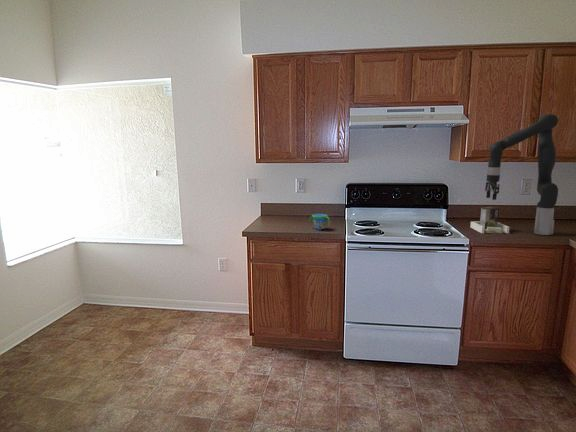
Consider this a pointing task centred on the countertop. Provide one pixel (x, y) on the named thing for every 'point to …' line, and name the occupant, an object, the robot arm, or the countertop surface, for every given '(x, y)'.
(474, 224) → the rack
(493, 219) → the coffee box
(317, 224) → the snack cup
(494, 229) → the offcut top
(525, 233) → the countertop surface
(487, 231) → the offcut middle
